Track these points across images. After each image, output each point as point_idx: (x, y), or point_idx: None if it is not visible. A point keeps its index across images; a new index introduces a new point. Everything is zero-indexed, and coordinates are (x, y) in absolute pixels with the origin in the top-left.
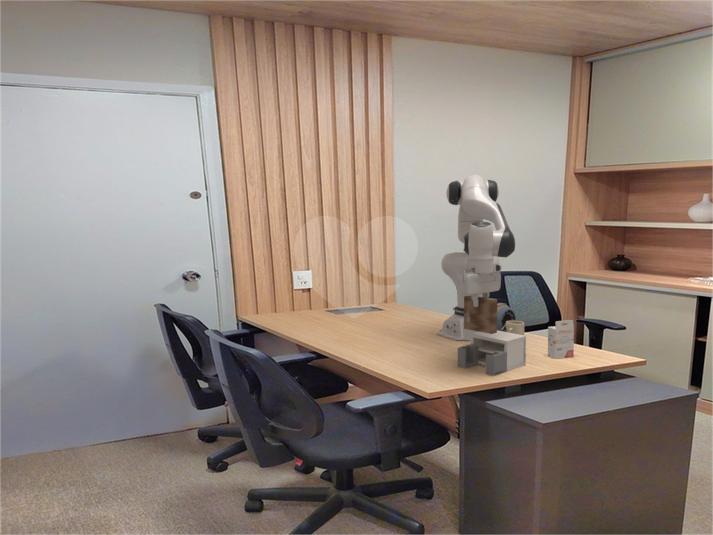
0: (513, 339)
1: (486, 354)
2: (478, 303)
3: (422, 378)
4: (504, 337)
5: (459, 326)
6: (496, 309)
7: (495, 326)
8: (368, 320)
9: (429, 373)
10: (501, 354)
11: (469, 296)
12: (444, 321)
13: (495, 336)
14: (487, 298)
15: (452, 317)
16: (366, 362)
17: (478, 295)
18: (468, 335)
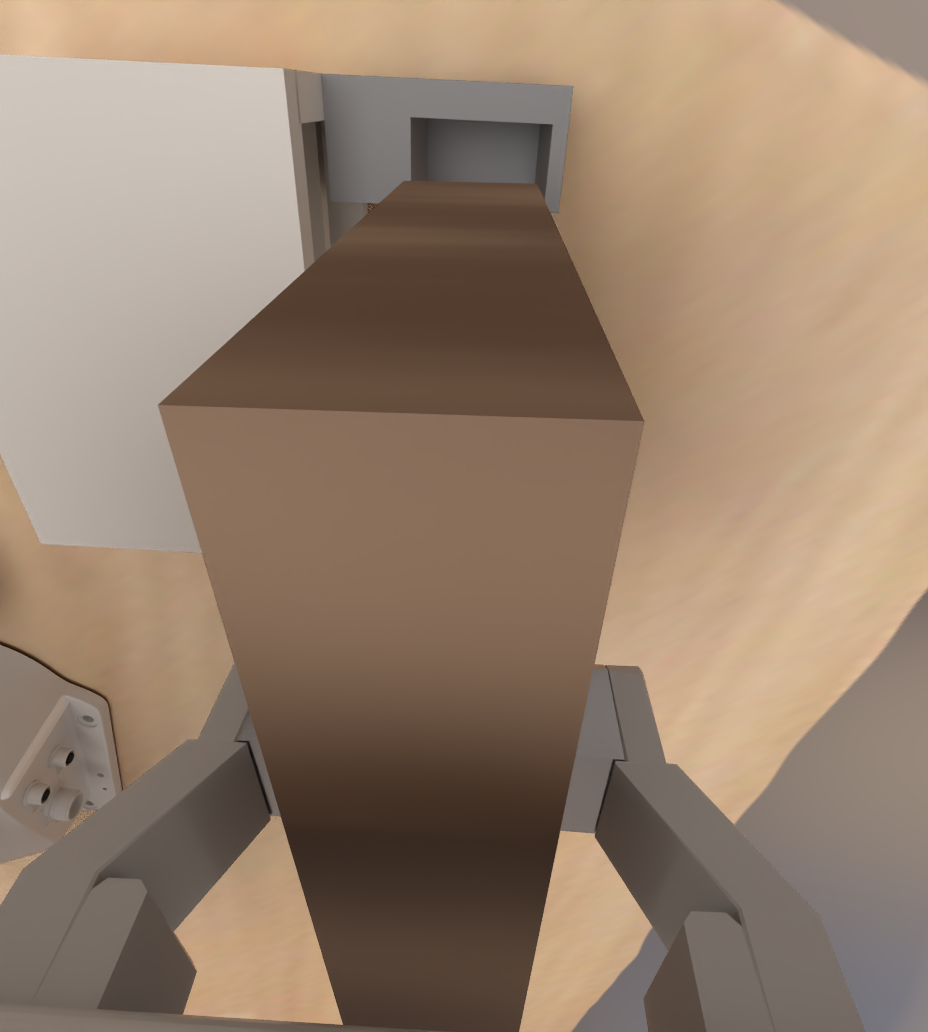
0: (130, 61)
1: (558, 204)
2: (618, 719)
3: (892, 447)
4: (161, 227)
5: (29, 770)
6: (347, 268)
7: (438, 194)
8: (230, 985)
9: (768, 475)
10: (433, 79)
11: (442, 1012)
12: (48, 848)
13: (219, 336)
14: (379, 734)
15: (6, 851)
16: (754, 754)
17: (696, 983)
18: (24, 691)
